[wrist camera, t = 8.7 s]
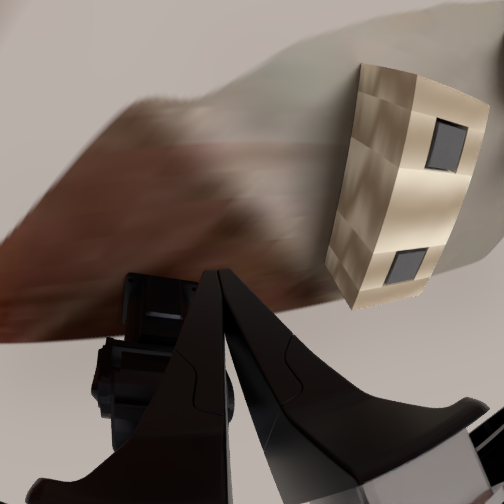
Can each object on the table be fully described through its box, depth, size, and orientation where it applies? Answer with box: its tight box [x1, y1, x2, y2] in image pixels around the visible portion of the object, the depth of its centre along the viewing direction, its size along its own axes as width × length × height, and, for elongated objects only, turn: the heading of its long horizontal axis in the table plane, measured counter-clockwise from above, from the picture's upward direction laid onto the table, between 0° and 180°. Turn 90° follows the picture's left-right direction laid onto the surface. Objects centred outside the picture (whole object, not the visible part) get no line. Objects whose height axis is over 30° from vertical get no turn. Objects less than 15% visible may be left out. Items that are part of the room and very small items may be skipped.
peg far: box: [384, 248, 426, 284], centre depth 23 cm, size 3×3×5 cm
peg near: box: [425, 118, 466, 170], centre depth 17 cm, size 3×3×5 cm
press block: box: [324, 63, 490, 310], centre depth 20 cm, size 18×8×6 cm, turn 177°
